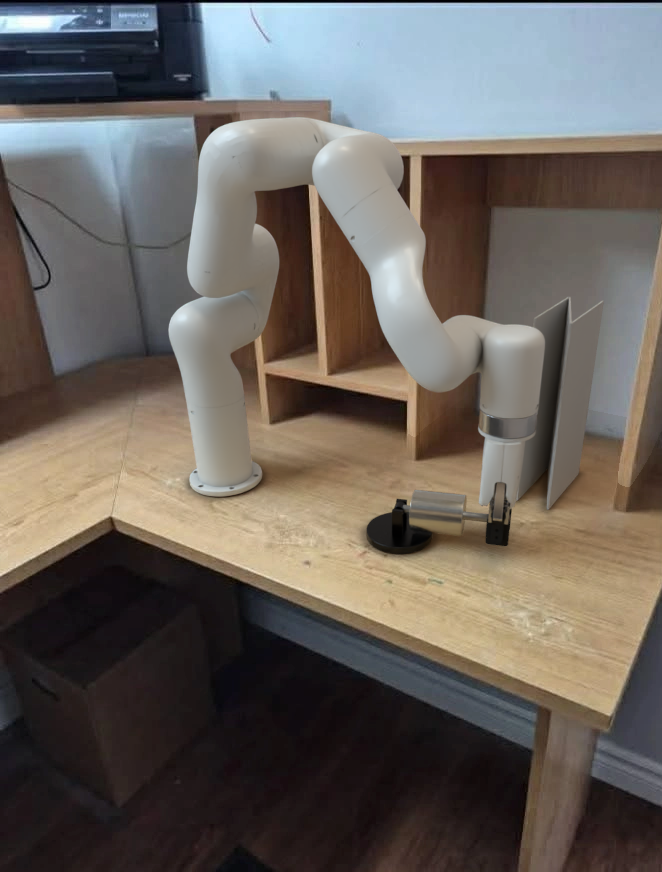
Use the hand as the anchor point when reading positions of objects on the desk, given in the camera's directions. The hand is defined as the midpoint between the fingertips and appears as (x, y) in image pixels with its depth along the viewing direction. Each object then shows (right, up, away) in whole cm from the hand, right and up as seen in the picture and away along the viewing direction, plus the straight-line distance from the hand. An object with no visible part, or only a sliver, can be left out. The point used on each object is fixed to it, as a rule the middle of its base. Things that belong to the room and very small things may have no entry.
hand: (497, 535), depth 100 cm
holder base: (-14, 0, +4) cm, 15 cm away
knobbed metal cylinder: (-7, 0, +2) cm, 7 cm away
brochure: (+12, +7, +16) cm, 21 cm away
